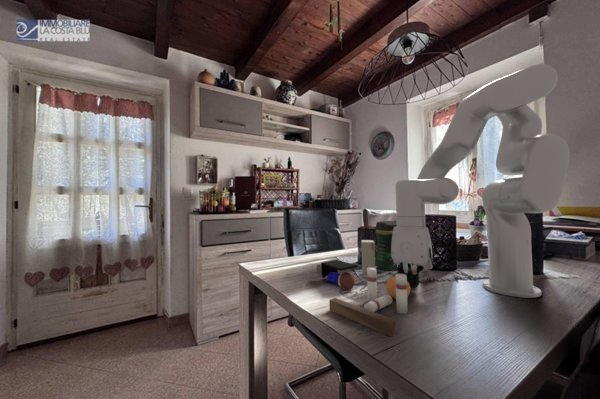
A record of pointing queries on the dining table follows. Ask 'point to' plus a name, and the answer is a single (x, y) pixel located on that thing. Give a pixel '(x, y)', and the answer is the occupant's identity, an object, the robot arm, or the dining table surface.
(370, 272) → the pin
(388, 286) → the ball
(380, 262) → the coffee jar
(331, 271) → the figurine character
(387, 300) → the front pin
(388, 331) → the wooden bar
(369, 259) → the skincare box
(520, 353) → the dining table surface
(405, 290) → the pin
